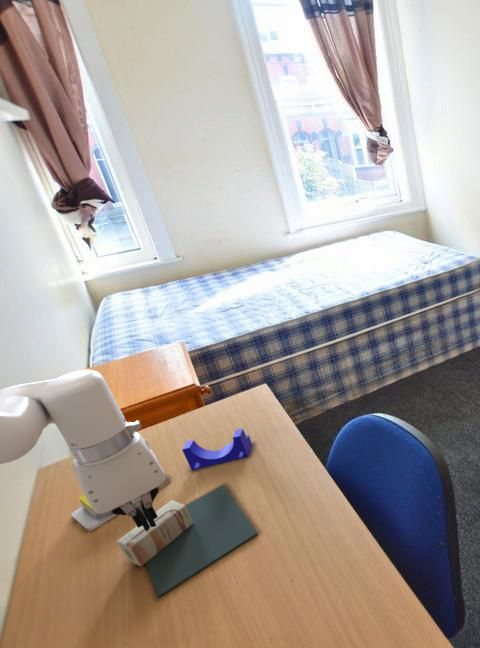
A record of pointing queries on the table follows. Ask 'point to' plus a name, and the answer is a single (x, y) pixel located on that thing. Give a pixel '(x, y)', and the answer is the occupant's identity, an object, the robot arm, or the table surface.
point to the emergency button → (91, 514)
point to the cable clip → (230, 452)
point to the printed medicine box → (156, 533)
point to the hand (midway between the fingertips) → (149, 524)
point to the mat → (201, 540)
